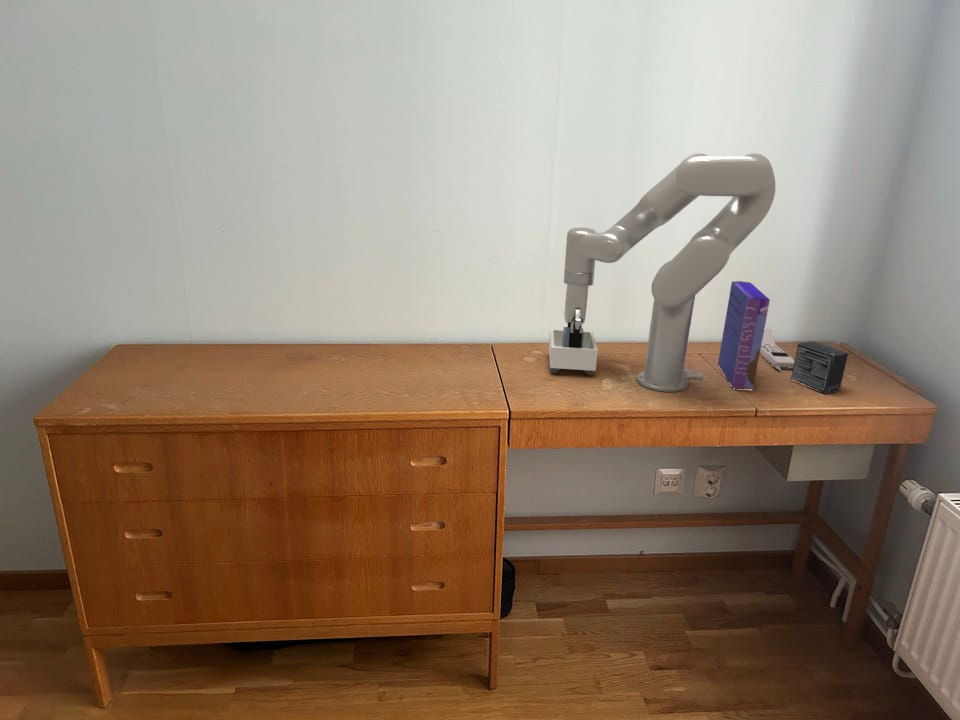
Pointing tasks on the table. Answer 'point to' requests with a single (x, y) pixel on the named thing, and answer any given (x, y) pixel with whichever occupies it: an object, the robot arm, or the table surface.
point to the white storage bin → (572, 353)
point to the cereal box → (743, 334)
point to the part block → (566, 337)
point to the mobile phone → (774, 351)
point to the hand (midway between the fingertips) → (573, 341)
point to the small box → (819, 366)
